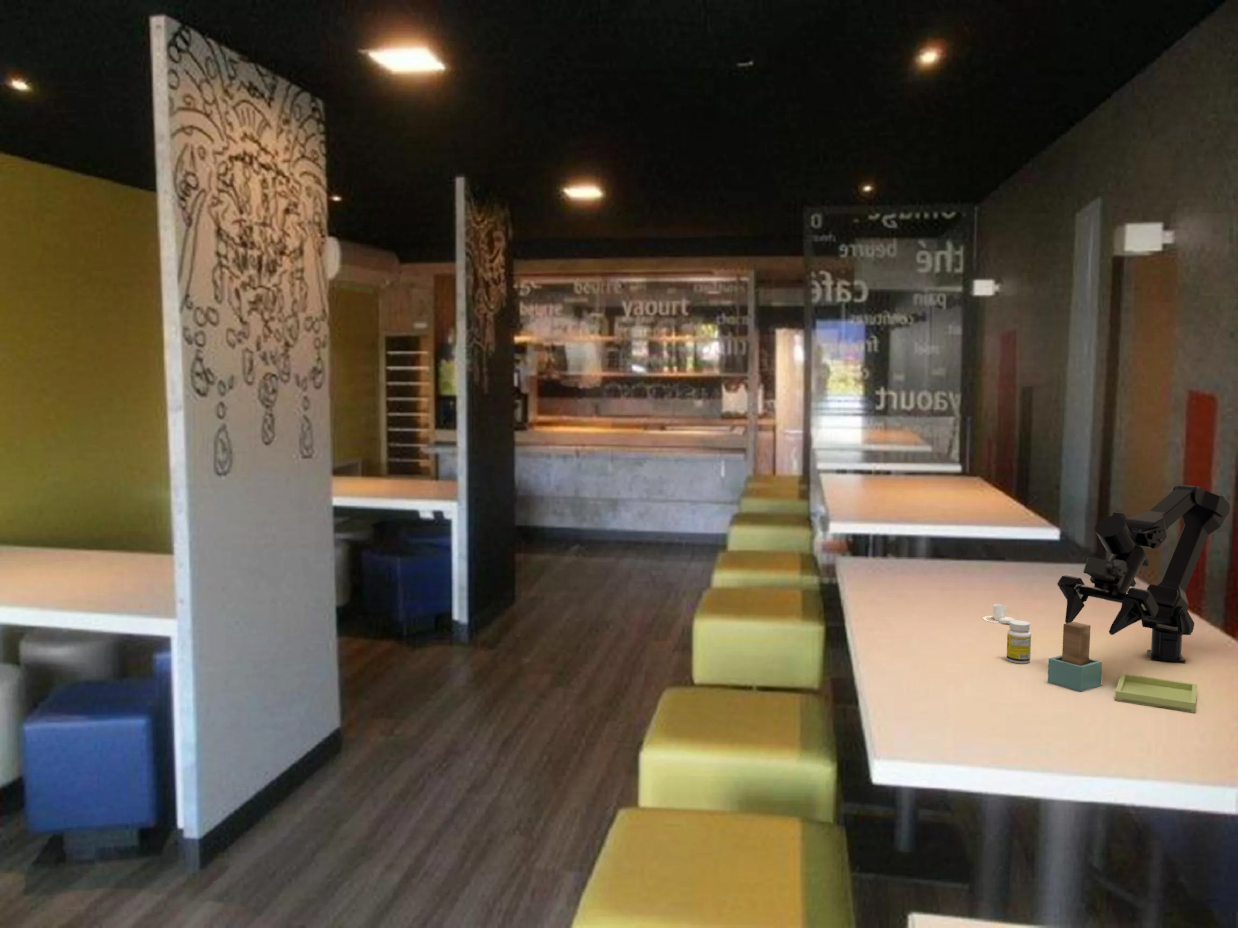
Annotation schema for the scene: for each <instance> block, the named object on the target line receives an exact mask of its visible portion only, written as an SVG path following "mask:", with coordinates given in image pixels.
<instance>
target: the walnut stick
mask: <svg viewBox="0 0 1238 928" xmlns="http://www.w3.org/2000/svg"><path fill="white" fill-rule="evenodd" d="M1091 627H1092V626H1091V624H1086V623H1081V622H1076V621H1072V622H1070V623H1066V622H1065V623H1063V631H1062V649H1061V650H1062V651H1061V653H1062V654H1061V655H1062V661H1064V662H1067V663H1071V664H1075V665H1079V666H1082V665H1086V664H1089V658H1090V649H1091V648H1090V643H1091Z"/></svg>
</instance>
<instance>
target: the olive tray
mask: <svg viewBox="0 0 1238 928" xmlns="http://www.w3.org/2000/svg"><path fill="white" fill-rule="evenodd" d="M1114 694H1115V696H1114V701H1115V702H1116V701H1117V702H1123V703H1130V704H1136V705H1142V706H1149V707H1154V708H1161V709H1165V710H1173V711H1179V712H1185V713H1186V712H1187V713H1191V714H1193V713H1194V714H1195V713H1196V706H1197V694H1198V684H1197V683H1191V682H1183V681H1178V680H1177V681H1175V680H1171V679H1170V680H1169V679H1164V678H1163V679H1162V678H1156V677H1148V676H1142V675H1135V674H1128V673H1121V675H1120V677H1119V680H1118V683H1117V686H1116V688H1115V693H1114Z"/></svg>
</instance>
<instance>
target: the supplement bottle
mask: <svg viewBox="0 0 1238 928" xmlns="http://www.w3.org/2000/svg"><path fill="white" fill-rule="evenodd" d="M1008 625H1009V629H1008V630H1007V633H1006V634H1007V635H1006V636H1007V639H1006V640H1007V641H1006V660H1007V661H1008V662H1010V663H1014V664H1021V665H1022V664H1029V663H1030V662H1031V654H1032V653H1031V647H1032V634H1031V632H1030V627H1031V626H1030V625H1031V623H1030V622H1028V621H1026V620H1017V619H1015V620H1013V621H1010V624H1008Z"/></svg>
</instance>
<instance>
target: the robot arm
mask: <svg viewBox="0 0 1238 928" xmlns="http://www.w3.org/2000/svg"><path fill="white" fill-rule="evenodd" d="M1230 511H1231V510H1230V503H1229V501H1227V500H1226V498H1225V497H1224V496H1223V495H1218V494H1215V493H1212V492H1210V491H1207V490H1205V489H1203V488H1202V487H1200V486H1197V485H1187V484H1178V485H1175V486H1174V487H1173V488H1172V491H1171V492H1170V493H1169V494H1167V495H1166V496H1164V498H1163V499H1162V500H1160V501H1159V502H1158V503H1157V504H1156V505H1154V506H1153V507H1152V508H1150V510H1148V511H1147V512H1142V513H1137V514H1134V515H1132V516H1130V517H1128V518H1126V516H1125V514H1124V513H1123V512H1116V511H1115V512H1113V513H1112V515H1110V516H1107V517H1104V518H1102V519H1100V520H1099V521H1097V522H1096V524H1095V526H1094V530H1095V533H1096V535H1097V536H1098V539H1099V540H1100V542H1101V544H1102V546H1103V547H1104V549H1105V550H1106V552H1108V553H1109V554H1111V556H1110V557H1109V559H1108V560H1106V559H1102V558H1101V559H1100V558H1095V557H1086V558H1087V559H1086V562H1085V564H1084V568H1083V571H1082V572H1083V574H1087V575H1088V576H1090V578H1089V580H1090V583H1091V584H1094V585H1093V586H1090V585H1086V583H1085V582H1084V580H1083V579H1082V578H1081V577H1077V576H1072V575H1067V574H1066V575H1061V576H1060V578H1059V579H1058V582H1057V583H1056V585H1057V586H1058V588H1059V590H1060V591H1061V592H1062V593H1061V594H1062V595H1063V596H1064V598H1065V600H1066V609H1065V610H1066V611H1065V619H1064V620H1065V621H1064V622H1065V624H1066V623H1070V622H1074V620H1076V618H1077V616H1078V615H1079V614H1080V613H1081V611H1082V610H1083V609H1084V607H1085V606H1086V605H1085V604H1084V602H1085V603H1086V602H1087V601H1088V599H1089V597H1091V598H1096V599H1102V600H1105V601H1108V602H1109V601H1110V602H1113V603H1118V604H1121V606H1120V610H1119V611H1118V613H1117V614H1116V617H1114V620H1113V622H1112V624H1111V626H1110V627H1109V630H1108V632H1109V633H1108V634H1109V635H1111V636H1113V635H1116V633H1118V632H1120V631H1122V630H1124V629H1125V628H1127V627H1129V626H1131V625H1132V624H1135V623H1137V622H1139V621H1141V627H1142V628H1147V629H1151V642H1150V643H1151V644H1150V645H1151V646H1150V649H1147V650H1146V653H1147V655H1148V657H1149V658H1150V660H1153V661H1165V662H1174V663H1175V662H1176V663H1186V659H1185V658H1184V657H1183V655H1182V646H1183V645H1182V643H1183V642H1182V641H1183V636H1191V635H1192V633H1193V631H1194V629H1195V628H1194V627H1195V621H1194V620H1193V618H1192V616H1191V615H1190V613H1189V611H1188V610H1189V607H1190V603H1189V600H1188V597H1187V595H1186V591H1187V589H1188V587H1189V583H1190V581H1191V579H1192V577H1193V574H1194V572H1195V568H1196V566H1197V563H1198V561H1199V559H1200V556H1201V554H1202V552H1203V549H1204V547H1205V545H1206V544H1205V543H1206V541H1207V540H1208V537H1209V535H1210V534H1212V533H1214V532H1215V531H1217V530H1218V529H1220V528H1221V527H1222V526H1223V523H1224V522H1225V520H1226V517H1227V516H1228V515H1229V513H1230ZM1181 518H1182V523H1183V525H1184V526H1183V528H1182V531H1181V533H1180V536H1179V538H1178V541H1177V543H1176V545H1175V548H1174V550H1173V552H1172V555H1171V558H1170V560H1169V562H1168V565H1167V567H1166V569H1165V571H1164V575H1163V577H1162V580H1161V581H1160V582H1159V583H1158V584H1152V583H1151V584H1149V585H1148V586H1147V587H1146V589H1142V588H1137V587H1136V588H1135V586H1136V585H1137V582H1136V580H1135V578H1136V576H1137V574H1138V573H1139V571H1140V569H1141V567H1142V566H1143V567H1149V565H1150V564H1149V562H1150V561H1149V559H1148V556H1147V552H1145V550H1144V549H1143V548H1148V549H1152V550H1153V549H1154V550H1155V549H1157V548H1159V547H1160V546H1161V545H1162V544H1163V542H1165V540H1166V539H1167V537H1168V535H1167V530H1168V529H1169V528H1170V527H1171V526H1172V525H1174V523H1176V522H1177V521H1178V520H1179V519H1181Z"/></svg>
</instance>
